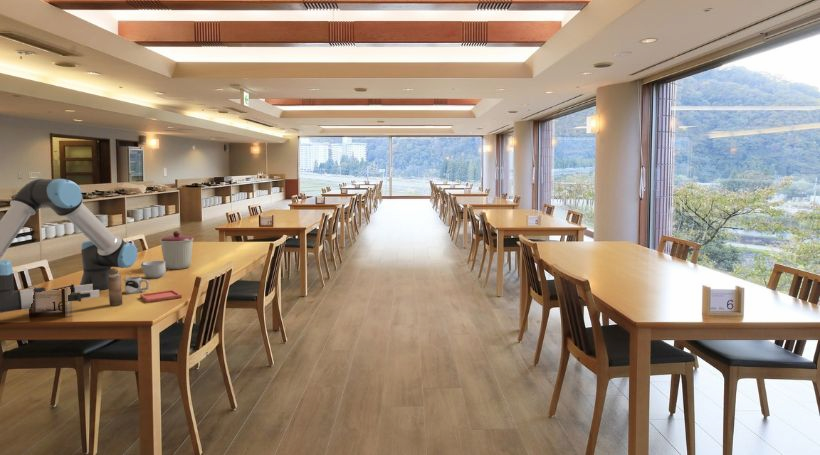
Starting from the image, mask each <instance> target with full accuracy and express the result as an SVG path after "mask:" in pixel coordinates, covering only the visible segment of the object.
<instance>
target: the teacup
mask: <svg viewBox="0 0 820 455" xmlns="http://www.w3.org/2000/svg"><path fill="white" fill-rule="evenodd" d="M140 267H141V269H142V270H143V275H144V276H145V277H147V278H148V279H159V278H162V277H163V276H164V275H165V274H166V270H167V268H166V266H165V261H164V260H161V259H160V260H158V259H157V260H150V261H143V262H141V263H140Z"/></svg>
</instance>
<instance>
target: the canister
mask: <svg viewBox="0 0 820 455" xmlns="http://www.w3.org/2000/svg"><path fill="white" fill-rule="evenodd" d="M194 239H195V238H194V237H192V236H191V235H185V234H184V235H181V232H180V231H177V230H176V231H175V230H174V231H173V232H172V235H168V236H167V235H166V236H163V237H161V238H160V239H159V240H158V241H159V242H160V246H161V252H162V258H163V261H165V267H166V269H168V270H183V269H188V268H189V267H191V264H192V257H193V244H194V243H193V242H194Z"/></svg>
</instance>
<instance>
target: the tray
mask: <svg viewBox="0 0 820 455" xmlns="http://www.w3.org/2000/svg"><path fill="white" fill-rule="evenodd" d="M139 296H140V298H139V299H142V300H143V301H144V302H145V303H147V304H151V303H157V302H165V301H170V300H176V299H178V300H179V299H182V298H183V297H182V293H179V292H178V291H176V290H174V289H169V290H168V289H167V290H162V291H156V292H147V293H140V295H139Z"/></svg>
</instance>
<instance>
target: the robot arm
mask: <svg viewBox="0 0 820 455" xmlns="http://www.w3.org/2000/svg"><path fill="white" fill-rule="evenodd" d="M83 198H84V197H83V194H82V189H81V188H80V186H79V185H78V184H77V183H76V182H74V181H72V180H69V179H66V178H38V179H37V178H36V179H34V180H31V181H29V182H28V183H26V184H25V185H24V186H22V187H21V188H20V190H18V192H16V194H15V195H14V196H13V198H12V199H11V201H10V202H9V205H10V206H9V208H8V210H7V211H6V213H5V214H3V216H2V218H1V219H0V314H2V313H8V312H15V311H21V310H24V311H28V309H30V310H31V308H30V307H31V304H32V303H33V300H34V299H33V295H34V292H42V291H46V290H47V289H46V287H36V288H34V289H32V288H27V289H25V288H24V289H19V290H15V286H14V270H13V265H12V262H11V261H10V260H8V259H7V260H6V259H2V258H3V256H4V254H5V253H6V251H7V250H8V249H9V247H10V246H11V244H12V243H13V241H14V240H15V238H16V237H17V236H18V234H19V233H20V231H21V230H22V229H23V227H24V226H25V224H26V223H27V221H28V220H29V219H30V217H31V216H35V214H36V213H37V212H38V210H39V209H40V210H41V208H50V209H51V210H52V211H53V212H54V213H56V215H57V216H59V217H65V218H67V220H68V221H69V222H70V223H71V224H72V225H73V226H75V228H76V229H77V230H78V231H79V232H80V233H82V234H83V235H84V236H85V237H86V238H87V239H88V240H87V241H83V242H82V243H81V250H80V252H81V259H82V260H81V262H82V276H81V279H80V284H79V285H74V284H70V285H67V286H61V287H57V288H52V289H51V290H59V289H62V288H66V287H70V289H71V294H70V295H68V301H67V302H82V300H84V299H85V300H86V299H92V298H99V297H100V296H101V294H100V291H103V290H109V288H108V277H109V274H110V270H111V269H112V268H117V269H119V268H121V269H128V268H130V267H132V266H133V265H134V264H135V263H136V261H137V258H138V248H137V247H136V245H135V244H133V243H132V242H126V241H125V240H124V239H123V238H122V237H121V236H119V235H117V234H115V235H114V234H113V233H112V232H111V231H110V230H109V228H107V227H106V226H105V225H104V224H103V222H102V221H101V220H99V218H98V217H96V215H95V214H94V213H92V211H91V210H90V209H89V208H88V207H87V206H86V205H85V204H84V203H83V202H84V199H83Z"/></svg>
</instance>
